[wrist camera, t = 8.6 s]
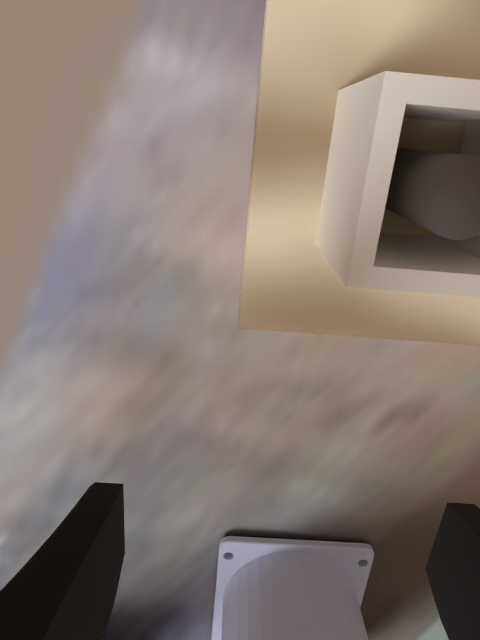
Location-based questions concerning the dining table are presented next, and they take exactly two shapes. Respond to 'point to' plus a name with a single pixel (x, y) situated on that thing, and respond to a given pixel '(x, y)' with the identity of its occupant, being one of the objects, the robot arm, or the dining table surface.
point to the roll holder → (312, 157)
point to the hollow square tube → (374, 180)
